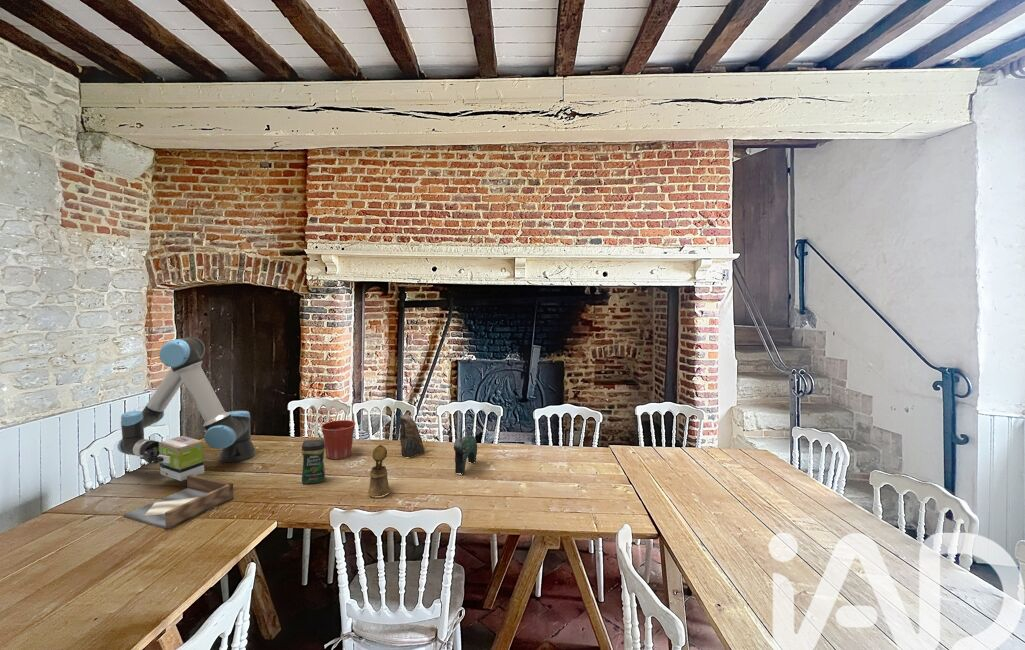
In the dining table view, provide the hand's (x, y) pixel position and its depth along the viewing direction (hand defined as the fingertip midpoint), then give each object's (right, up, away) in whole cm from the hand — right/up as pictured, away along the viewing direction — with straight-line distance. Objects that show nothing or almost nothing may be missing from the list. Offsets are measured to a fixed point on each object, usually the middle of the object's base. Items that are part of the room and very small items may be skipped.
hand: (183, 455), depth 191 cm
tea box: (-1, -9, +1) cm, 9 cm away
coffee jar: (+53, -13, +6) cm, 55 cm away
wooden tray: (+13, -15, -19) cm, 27 cm away
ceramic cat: (+119, -13, +23) cm, 122 cm away
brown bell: (+85, -15, -2) cm, 87 cm away
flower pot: (+53, -11, +36) cm, 65 cm away
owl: (+89, -11, +41) cm, 99 cm away
